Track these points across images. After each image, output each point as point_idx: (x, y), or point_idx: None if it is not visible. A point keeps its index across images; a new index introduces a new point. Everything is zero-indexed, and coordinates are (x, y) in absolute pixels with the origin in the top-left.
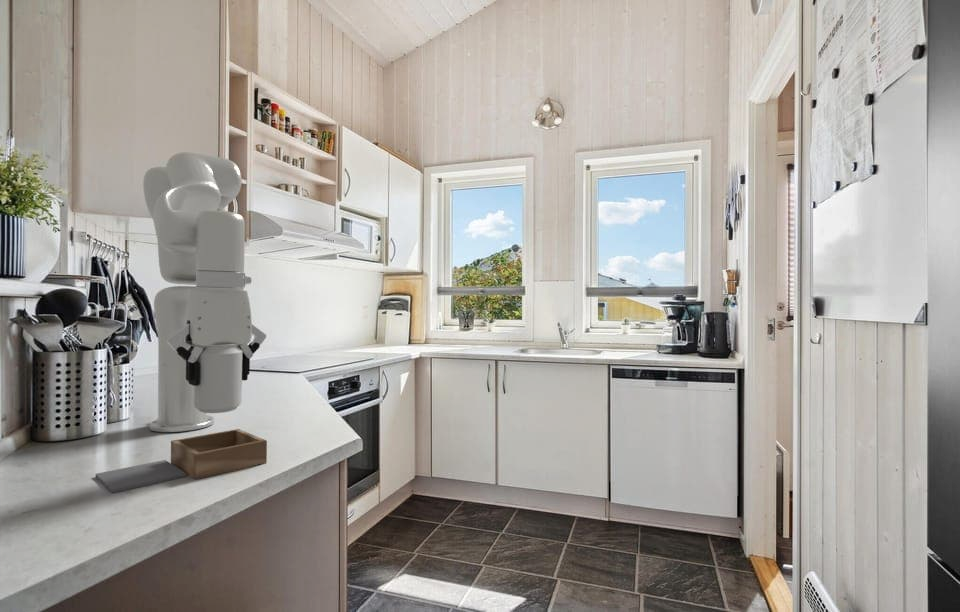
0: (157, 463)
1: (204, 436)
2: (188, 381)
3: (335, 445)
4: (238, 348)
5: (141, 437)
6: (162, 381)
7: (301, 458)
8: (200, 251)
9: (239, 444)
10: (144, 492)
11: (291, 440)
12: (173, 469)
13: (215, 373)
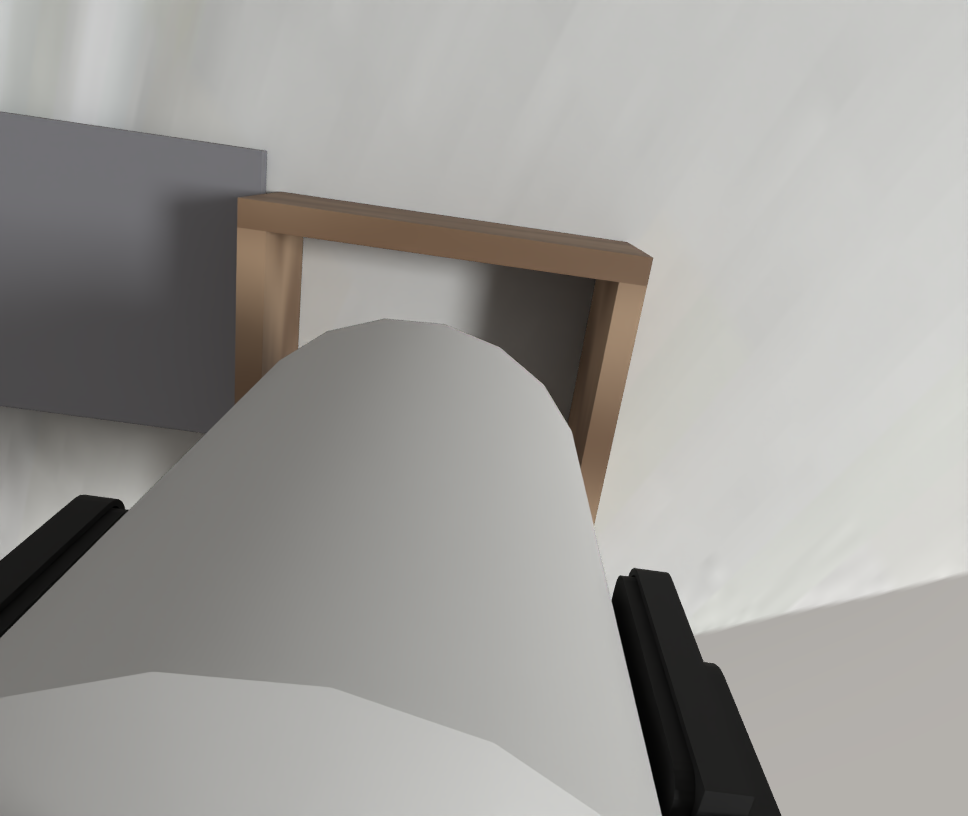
0: (212, 183)
1: (423, 252)
2: (75, 501)
3: (933, 567)
4: None
5: None
6: None
7: (694, 599)
8: None
9: (595, 320)
10: (84, 482)
11: (914, 316)
12: (234, 348)
13: None
